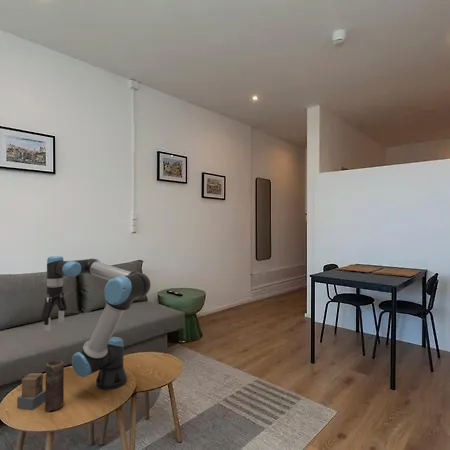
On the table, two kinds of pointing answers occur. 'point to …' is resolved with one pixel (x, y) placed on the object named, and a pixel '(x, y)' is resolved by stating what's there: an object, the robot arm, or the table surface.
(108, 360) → the robot arm
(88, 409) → the table surface
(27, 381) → the walnut block
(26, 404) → the base block
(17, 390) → the table surface
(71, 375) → the table surface
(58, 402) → the candle
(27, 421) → the table surface
